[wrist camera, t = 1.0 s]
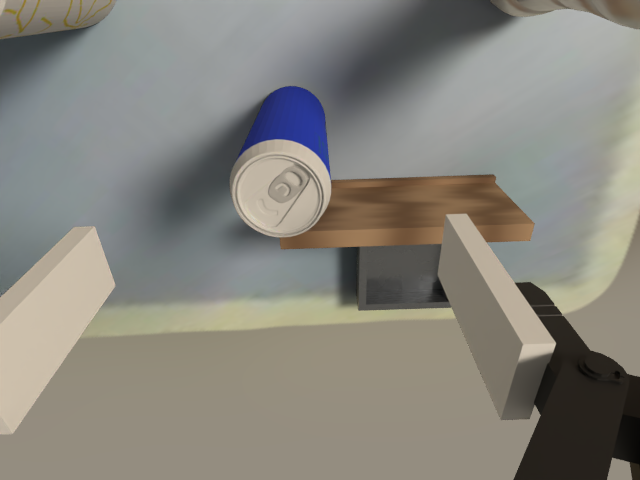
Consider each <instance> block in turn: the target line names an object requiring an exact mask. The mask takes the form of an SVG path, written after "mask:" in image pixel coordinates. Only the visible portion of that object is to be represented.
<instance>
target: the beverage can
mask: <svg viewBox="0 0 640 480" xmlns="http://www.w3.org/2000/svg"><path fill="white" fill-rule="evenodd" d="M229 185H230V193H231V197H232V200H233V203H234V206H235V208H236V211H237V213H238V214H239V216H240V217H241V218H242V220H243V221H244V222H245V223H246V224H247V225H249V226H250V227H251V228H253V229H254V230H256V231H258V232H260V233H262V234H265V235H268V236H272V237H292V236H296V235H299V234H301V233H304V232H305V231H307V230H309V229H310V228H311V227H312V226H314V225H315V224H316V222H317V221H318V220H319V219H320V217H321V216H322V214H323V213H324V211H325V210H326V208H327V206H328V203H329V201H330V196H331V177H330V166H329V155H328V144H327V133H326V122H325V113H324V110H323V107H322V105H321V103H320V102H319V100H318V99H317V98H316V97H315V95H313V94H312V93H311V92H309V91H308V90H306V89H303V88H301V87H296V86H288V87H283V88H280V89H277V90H276V91H274V92H273V93H271V94H270V95H269V96H268V97H267V98H266V100H265V101H264V103H263V105H262V107H261V109H260V111H259V113H258V116H257V118H256V120H255V122H254V124H253V126H252V128H251V130H250V132H249V135H248V137H247V139H246V141H245V143H244V145H243V147H242V149H241V152H240V154H239V156H238V158H237V160H236V162H235V164H234V166H233V169H232V171H231V175H230V184H229Z"/></svg>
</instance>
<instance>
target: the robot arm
mask: <svg viewBox="0 0 640 480" xmlns="http://www.w3.org/2000/svg"><path fill="white" fill-rule="evenodd" d="M438 277H439V279H440V282H441V284H442V286H443V289H444V291H445V293H446V296H447V298H448V300H449V302H450V305H451V307H452V309H453V312H454V314H455V316H456V318H457V321H458V323H459V325H460V328H461V330H462V332H463V334H464V337H465V339H466V341H467V344H468V346H469V348H470V351H471V353H472V355H473V358H474V360H475V362H476V364H477V367H478V369H479V371H480V374H481V375H482V378H483V380H484V383H485V385H486V387H487V390H488V392H489V394H490V396H491V399H492V401H493V403H494V406H495V408H496V410H497V413H498V415H499V417H500V419H501V420H513V419H514V420H515V419H530V416H531V414H532V411H533V408H534V405H536V407H537V409H538V411H539V413H540V415H541V416H540V418H539V421H538V423H537V426H536V428H535V430H534V433H533V435H532V437H531V440H530V442H529V444H528V447H527V449H526V452H525V454H524V456H523V459H522V461H521V463H520V466H519V468H518V470H517V473H516V475H515V478H514V480H607V476H608V472H609V468H610V464H611V460H612V458H616V459H620V460H624V461H628V462H630V467H631V473H632V480H640V377H637V376H633V375H629V374H627V373H626V372H625V370H624V369H623V367H621V366H620V365H619V364H618V363H617V362H615V361H614V360H613V359H611V358H609V357H607V356H605V355H603V354H601V353H597V352H594V351H590V349H589V348H588V347H587V346H586V344H585V343H584V342H583V340H582V339H581V338H580V337H579V335H578V334H577V333H576V331H575V330H574V329H573V327H572V326H571V325H570V324H569V322H568V321H567V320H566V319H565V317H564V316H562V313H561V312H560V311H559V309H558V308H557V307H556V306H554V303H553V302H552V300H551V299H550V298H549V296H548V295H547V294H546V293H545V292H544V291H543V290H541V289H540V288H538V287H537V286H535V285H534V284H532V283H531V282H523V283H514V282H513V280H512V279H511V277H510V276H509V274H508V273H507V271H506V270H505V269H504V267H503V266H502V264H501V263H500V261H499V260H498V258H497V257H496V256H495V254H494V253H493V251H492V250H491V248H490V247H489V245H488V244H487V243H486V241H485V240H484V238H483V237H482V235H481V234H480V232H479V231H478V230H477V228H476V227H475V225H474V224H473V222H472V221H471V219H470V218H469V217H468V215H467V214H446V216H445V224H444V231H443V239H442V246H441V253H440V261H439V268H438ZM115 286H116V285H115V282H114V280H113V277H112V274H111V271H110V268H109V266H108V263H107V260H106V257H105V254H104V252H103V249H102V246H101V243H100V240H99V238H98V235H97V232H96V229H95V226H91V227H74V228H73V229H72V230H71V231H70V232H69V233H67V234H66V235H65V236H64V237H63V238H62V239H61V240H60V241H59V242H58V243H57V244H56V245H55V246H54V247H53V248H52V249H51V250H50V251H49V252H48V253H47V254H45V255H44V256H43V257H42V258H41V259H40V260H39V261H38V262H37V263H36V264H35V265H34V266H33V267H32V268H31V269H30V270H29V271H28V272H27V273H26V274H24V275H23V276H22V277H21V278H20V279H19V280H18V281H17V282H16V283H15V284H14V285H13V286H12V287H11V288H10V289H9V290H8V291H7V292H6V293H5V294H4V295H2V296H1V297H0V434H13V433H14V431H15V430H16V428H17V427H18V426H19V424H20V423H21V421H22V420H23V418H24V417H25V415H26V414H27V413H28V411H29V410H30V408H31V407H32V405H33V404H34V402H35V401H36V400H37V398H38V397H39V395H40V394H41V392H42V391H43V390H44V388H45V387H46V385H47V384H48V382H49V381H50V380H51V378H52V376H53V375H54V373H55V372H56V371H57V369H58V368H59V367H60V365H61V364H62V362H63V360H64V359H65V358H66V356H67V355H68V353H69V352H70V351H71V349H72V348H73V346H74V345H75V343H76V342H77V341H78V339H79V338H80V336H81V335H82V333H83V332H84V330H85V329H86V328H87V326H88V325H89V323H90V322H91V320H92V319H93V317H94V316H95V315H96V313H97V312H98V310H99V309H100V307H101V306H102V304H103V303H104V302H105V300H106V299H107V297H108V296H109V294H110V293H111V291H112V290H113V289H114V287H115Z"/></svg>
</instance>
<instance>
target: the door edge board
mask: <svg viewBox="0 0 640 480" xmlns="http://www.w3.org/2000/svg"><path fill="white" fill-rule="evenodd" d="M495 180H496V177H495V176H494V175H467V176H438V177H410V178H381V179H353V180H331V196H330V201H329V203H328V206H327V208H326V210H325V211H324V213H323V214H322V216H321V217H320V219H319V220H318V221H317V222H316V224H315V225H314V226H312V227H311V228H310V229H309V230H307V231H305V232H304V233H301V234H299V235H296V236H292V237H280V246H281V249H303V248H332V247H361V246H391V245H420V244H442V239H443V231H444V224H445V216H446V214H467V215H468V217H469V218H470V219H471V221H472V222H473V224H474V225H475V227H476V228H477V230H478V231H479V232H480V234H481V235H482V237H483V238H484V240H485V241H486V242H508V241H530V239H531V235H532V232H533V228H534V223H533V222H532V220H531V219H530V218H529V217H528V216H527V215H526V214H525V213H524V212H523V211H522V210H521V209H520V208H519V207H518V206H517V205H516V204H515V203H514V202H513V201H512V200H511V199H510V198H509V197H508V196H507V195H506V194H505V193H504V192H503V190H502V189H501V188H500V187H499V186H498V185H497V184H496V183H495Z"/></svg>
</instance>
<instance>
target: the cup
mask: <svg viewBox="0 0 640 480" xmlns="http://www.w3.org/2000/svg"><path fill="white" fill-rule="evenodd" d="M115 2H116V0H0V39H6V38H14V37H21V36H28V35H35V34H42V33H49V32H57V31H64V30H71V29H78V28H85V27H89V26H92V25H94V24H96V23H98V22H100V21H101V20H103V19H104V18H105V17H106V16H107V15H108V14H109V13H110V11H111V10H112V8H113V6H114V5H115Z"/></svg>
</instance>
